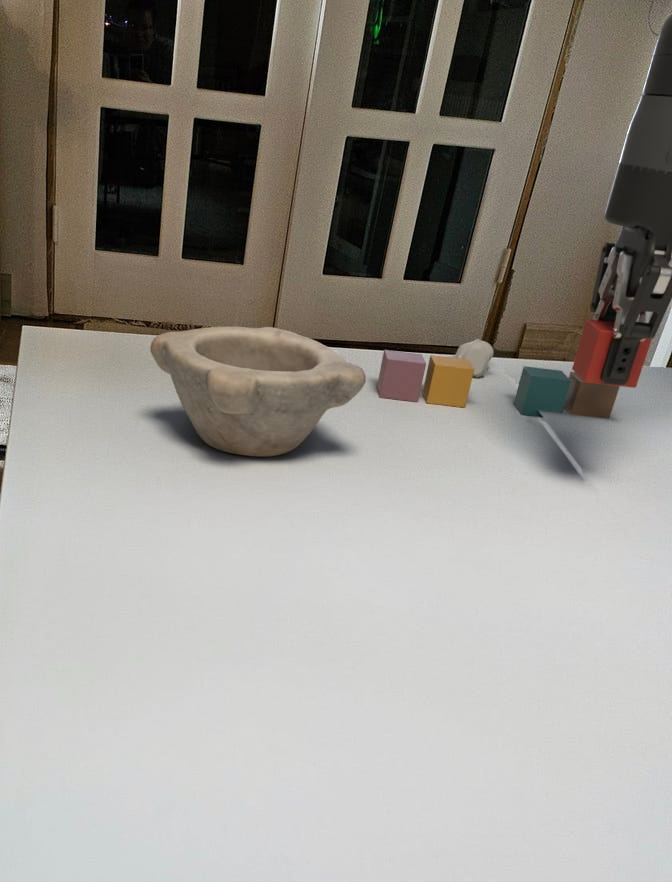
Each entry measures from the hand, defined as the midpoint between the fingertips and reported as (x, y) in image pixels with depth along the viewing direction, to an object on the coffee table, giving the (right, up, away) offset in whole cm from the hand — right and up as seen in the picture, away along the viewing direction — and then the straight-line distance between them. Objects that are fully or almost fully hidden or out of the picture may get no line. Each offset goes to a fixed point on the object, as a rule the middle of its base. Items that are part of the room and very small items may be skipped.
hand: (604, 374), depth 84 cm
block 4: (+9, +2, +27) cm, 28 cm away
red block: (0, 0, 0) cm, 0 cm away
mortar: (-32, -5, +8) cm, 33 cm away
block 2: (-7, +5, +27) cm, 28 cm away
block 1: (-13, +5, +27) cm, 31 cm away
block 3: (+4, +3, +27) cm, 27 cm away
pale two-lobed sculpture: (0, +12, +41) cm, 42 cm away
